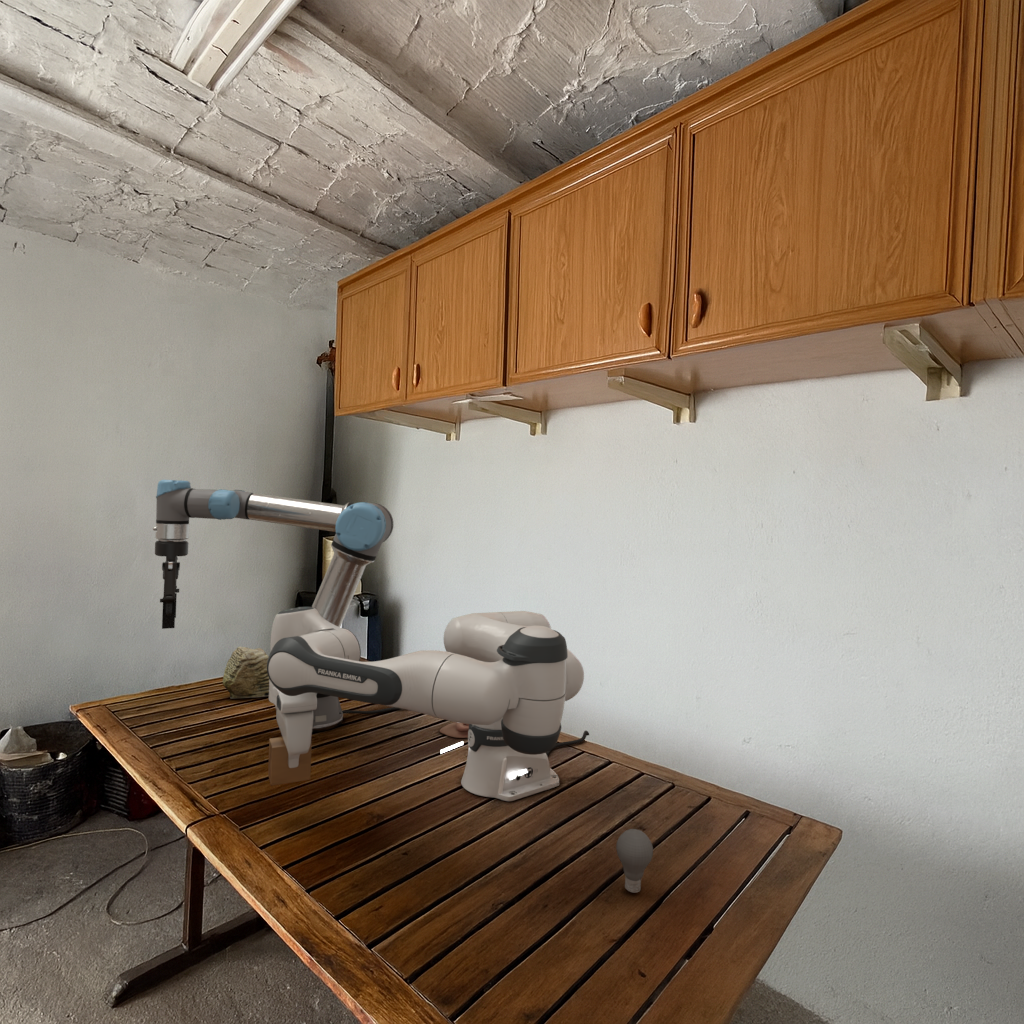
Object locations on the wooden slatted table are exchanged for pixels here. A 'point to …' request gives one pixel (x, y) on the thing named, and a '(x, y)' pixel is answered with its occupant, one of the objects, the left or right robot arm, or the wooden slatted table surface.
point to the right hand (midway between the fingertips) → (290, 760)
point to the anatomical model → (456, 730)
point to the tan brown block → (286, 764)
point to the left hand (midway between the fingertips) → (169, 623)
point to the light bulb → (634, 857)
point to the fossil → (247, 673)
